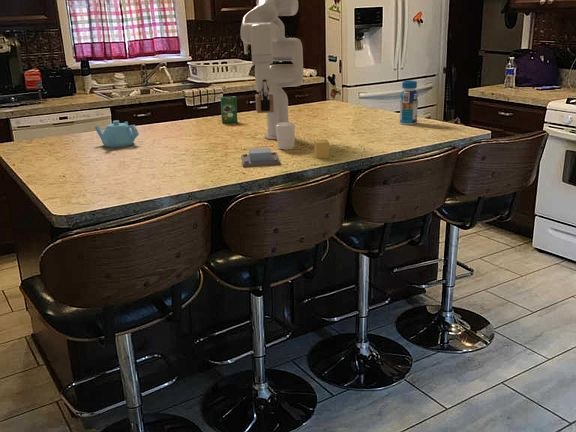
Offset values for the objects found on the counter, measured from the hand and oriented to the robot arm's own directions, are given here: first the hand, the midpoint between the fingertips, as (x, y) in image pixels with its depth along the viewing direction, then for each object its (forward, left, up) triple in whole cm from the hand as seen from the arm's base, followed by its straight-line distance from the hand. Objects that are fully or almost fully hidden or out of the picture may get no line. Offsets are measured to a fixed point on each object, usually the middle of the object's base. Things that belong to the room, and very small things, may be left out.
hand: (264, 108), depth 225 cm
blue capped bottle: (-57, +72, -20) cm, 94 cm away
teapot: (-46, -63, -20) cm, 80 cm away
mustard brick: (-2, +21, -20) cm, 29 cm away
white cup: (-20, +9, -20) cm, 30 cm away
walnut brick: (0, 0, -1) cm, 1 cm away
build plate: (0, -3, -20) cm, 20 cm away
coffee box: (-86, -13, -20) cm, 89 cm away
